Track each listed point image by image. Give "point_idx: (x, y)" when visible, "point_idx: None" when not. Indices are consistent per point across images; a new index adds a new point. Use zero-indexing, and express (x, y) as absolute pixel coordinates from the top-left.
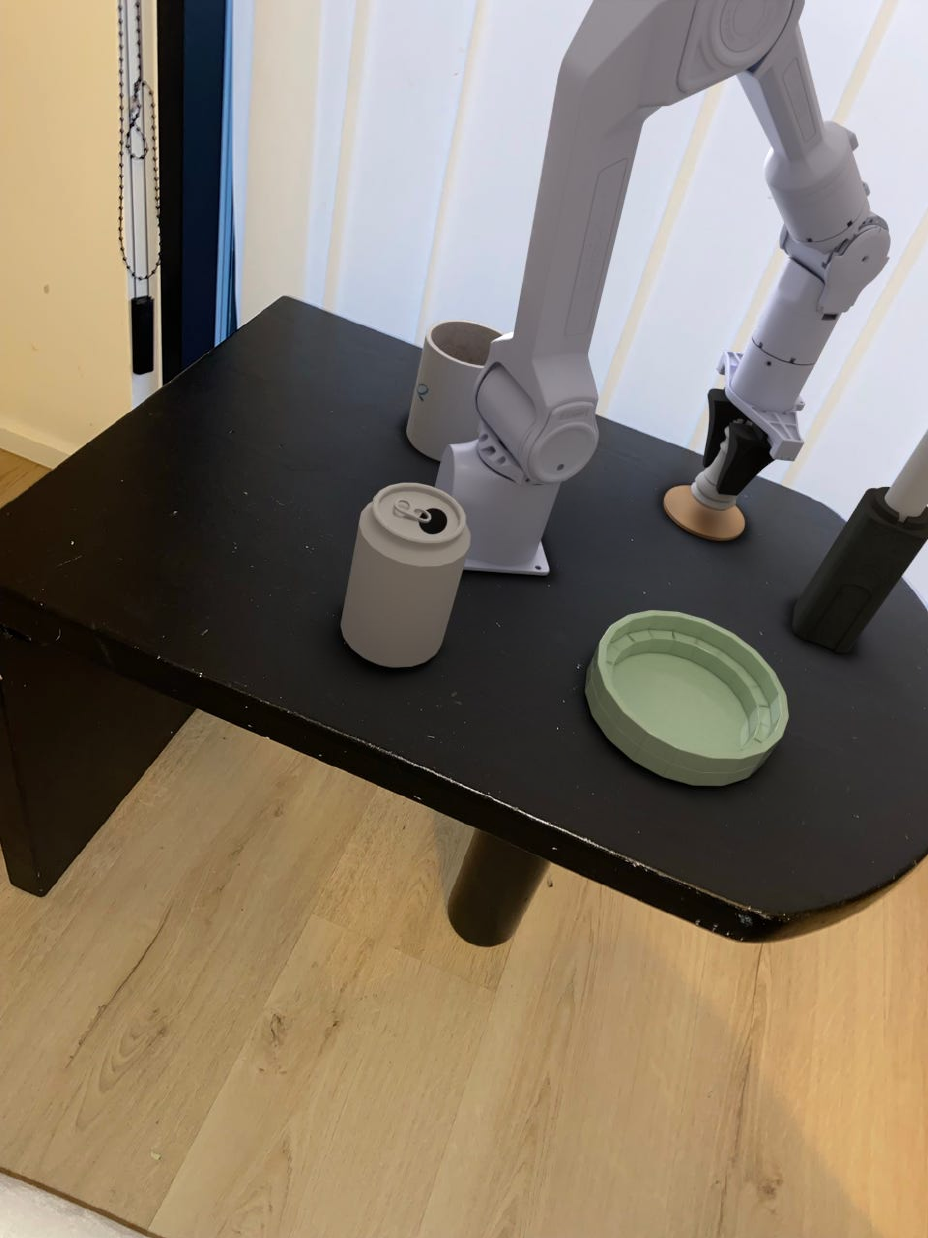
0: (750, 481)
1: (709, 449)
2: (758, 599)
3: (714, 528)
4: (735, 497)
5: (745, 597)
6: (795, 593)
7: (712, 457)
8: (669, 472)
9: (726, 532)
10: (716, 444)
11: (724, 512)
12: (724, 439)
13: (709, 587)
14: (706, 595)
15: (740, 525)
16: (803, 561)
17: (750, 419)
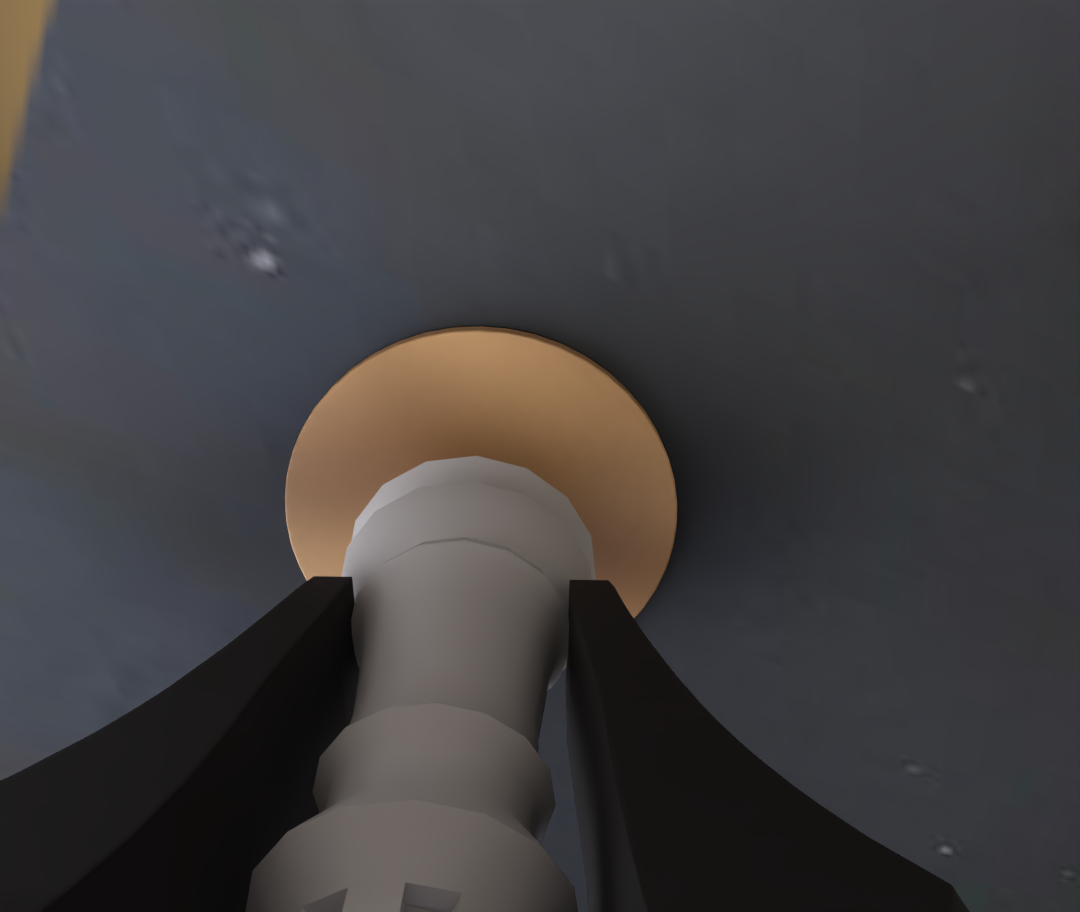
0: (641, 632)
1: None
2: (1059, 468)
3: (612, 522)
4: (570, 543)
5: (1035, 520)
6: (1061, 257)
7: (343, 720)
8: (183, 569)
9: (639, 476)
10: (306, 799)
11: (478, 427)
12: (282, 803)
13: (954, 642)
14: (994, 667)
15: (577, 380)
16: (833, 75)
17: (168, 897)
